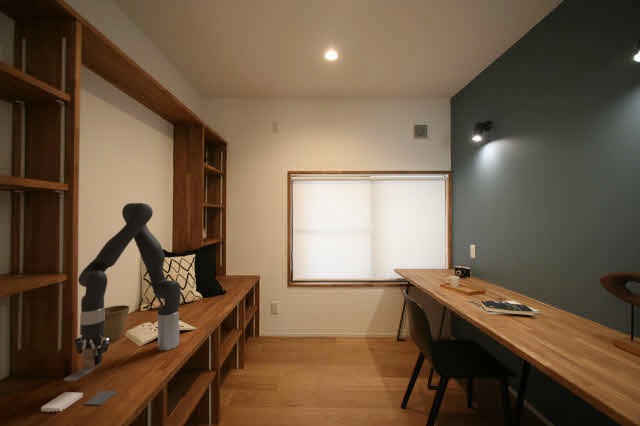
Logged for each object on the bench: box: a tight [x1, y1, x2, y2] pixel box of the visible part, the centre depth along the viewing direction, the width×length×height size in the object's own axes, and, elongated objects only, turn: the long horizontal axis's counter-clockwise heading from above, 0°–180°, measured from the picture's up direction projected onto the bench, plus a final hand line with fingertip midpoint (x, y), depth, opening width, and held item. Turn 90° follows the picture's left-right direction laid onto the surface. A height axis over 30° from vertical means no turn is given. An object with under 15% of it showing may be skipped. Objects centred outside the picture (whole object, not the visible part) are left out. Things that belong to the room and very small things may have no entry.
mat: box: [84, 390, 118, 406], centre depth 98 cm, size 7×6×1 cm
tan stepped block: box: [63, 345, 103, 382], centre depth 104 cm, size 11×4×8 cm, turn 174°
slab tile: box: [40, 391, 84, 413], centre depth 96 cm, size 2×7×8 cm
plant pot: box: [103, 304, 130, 342], centre depth 148 cm, size 15×15×16 cm
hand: (92, 363), depth 107 cm, fingers closed on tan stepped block, 4 cm apart
